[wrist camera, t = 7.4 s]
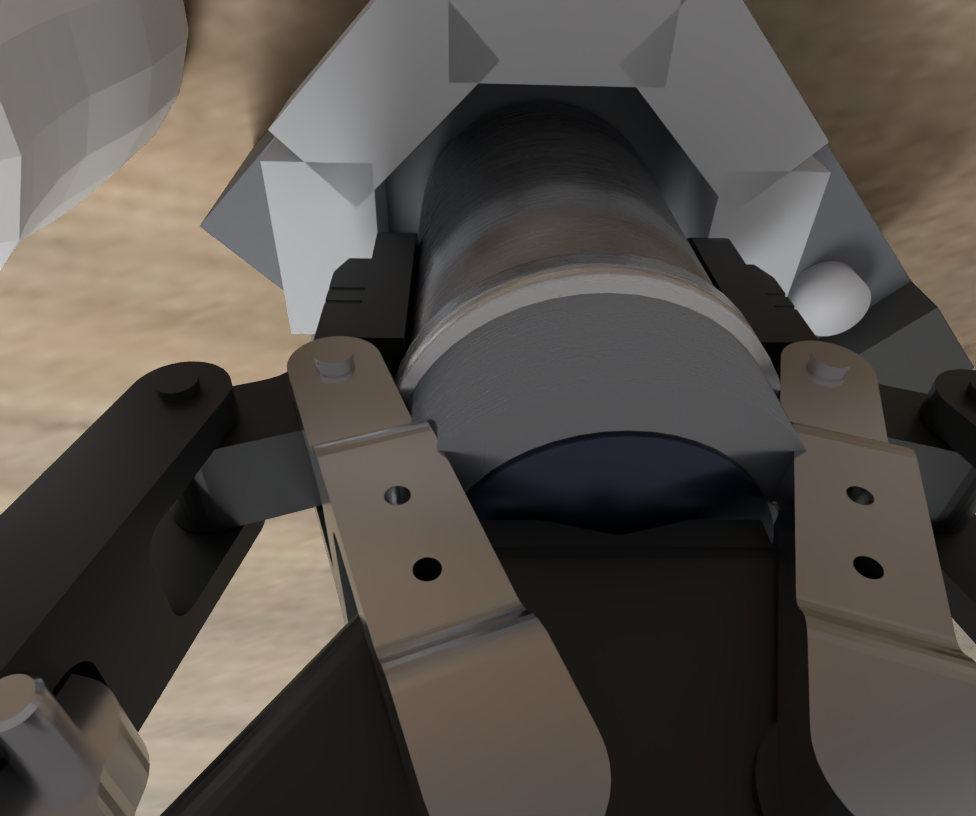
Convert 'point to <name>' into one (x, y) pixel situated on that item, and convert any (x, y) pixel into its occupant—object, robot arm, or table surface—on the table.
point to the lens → (582, 338)
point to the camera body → (616, 98)
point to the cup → (78, 99)
